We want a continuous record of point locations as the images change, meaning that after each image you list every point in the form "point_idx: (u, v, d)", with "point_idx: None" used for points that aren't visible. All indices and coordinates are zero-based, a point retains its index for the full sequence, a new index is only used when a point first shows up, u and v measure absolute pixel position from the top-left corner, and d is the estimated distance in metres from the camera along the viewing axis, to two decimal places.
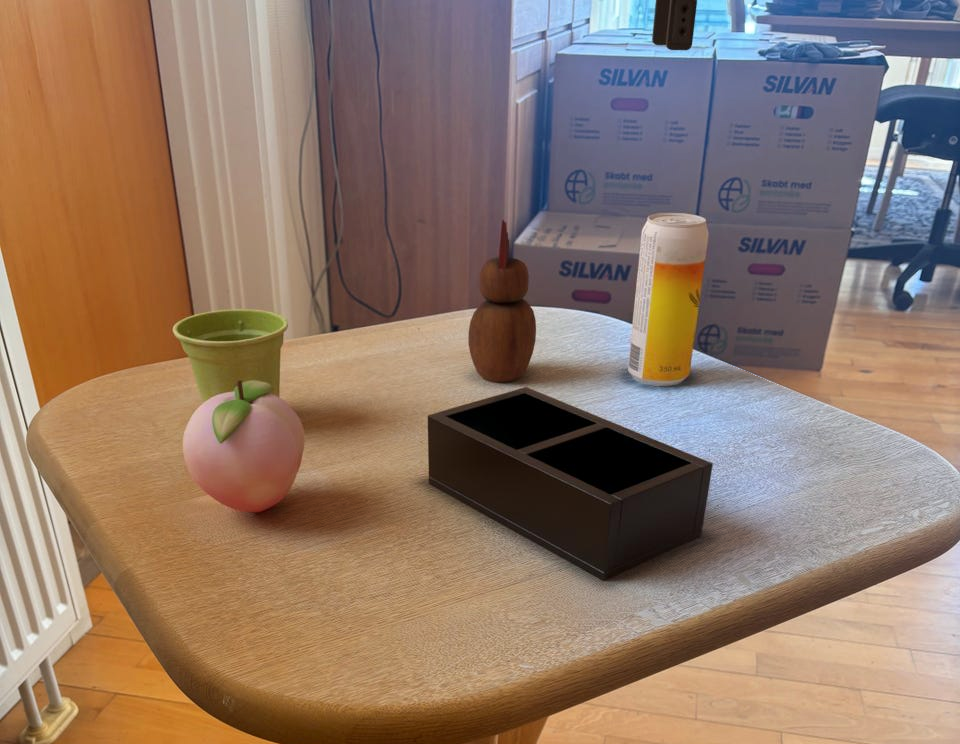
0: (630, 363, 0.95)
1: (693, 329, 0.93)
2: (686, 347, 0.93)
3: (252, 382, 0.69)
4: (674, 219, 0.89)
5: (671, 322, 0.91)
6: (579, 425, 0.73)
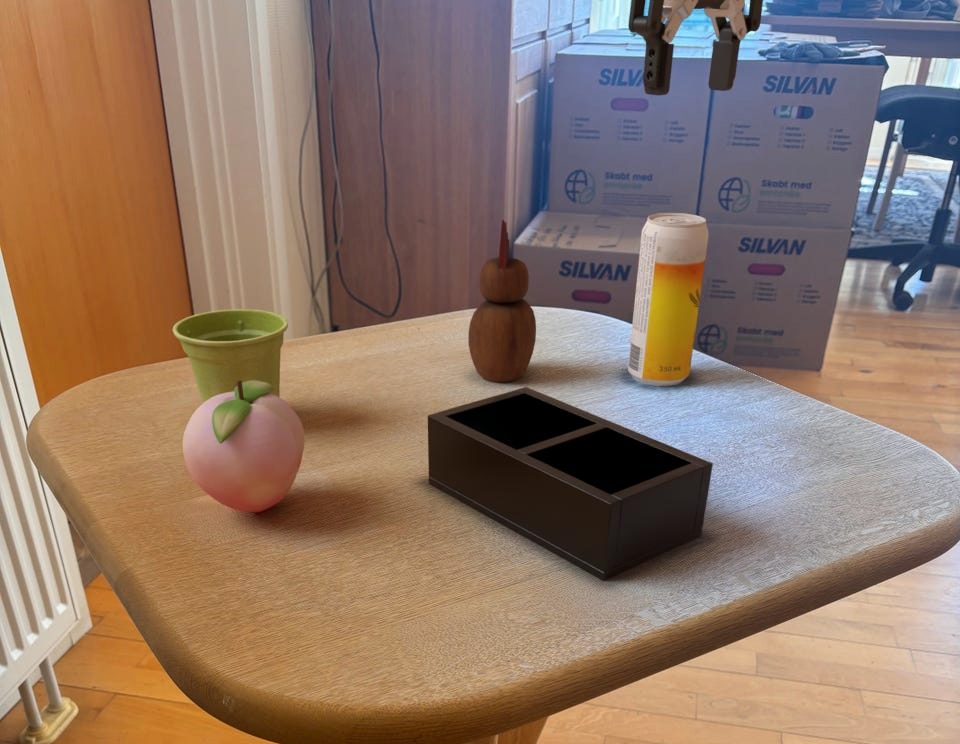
0: (630, 363, 0.95)
1: (693, 329, 0.93)
2: (686, 347, 0.93)
3: (252, 382, 0.69)
4: (674, 219, 0.89)
5: (671, 322, 0.91)
6: (579, 425, 0.73)
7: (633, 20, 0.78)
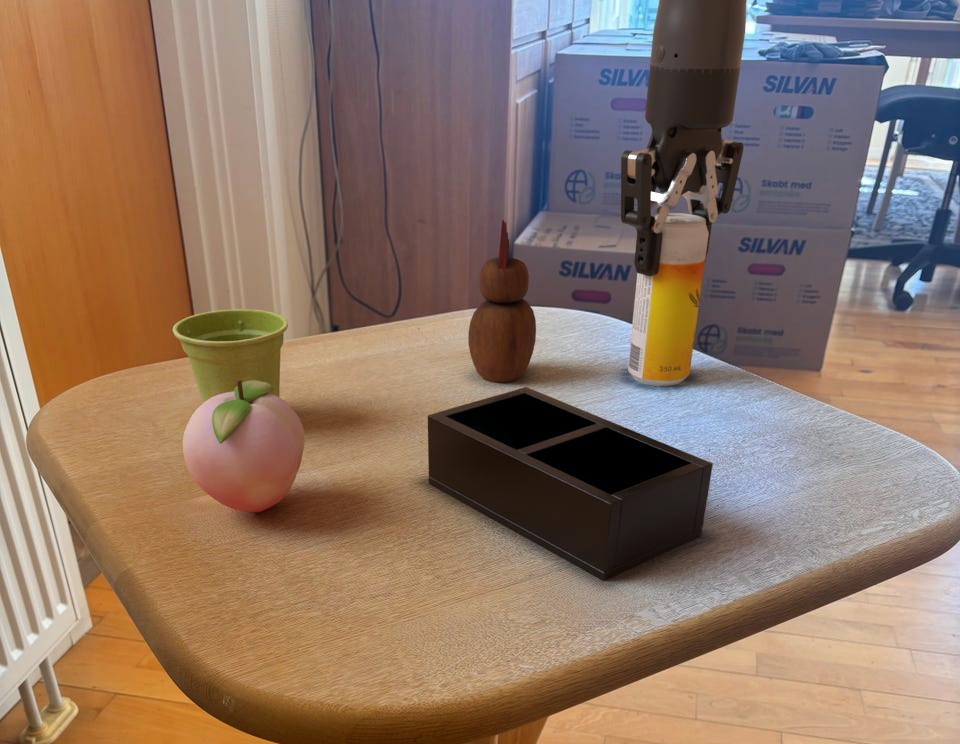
0: (630, 363, 0.95)
1: (693, 329, 0.93)
2: (686, 347, 0.93)
3: (252, 382, 0.69)
4: (674, 219, 0.89)
5: (670, 322, 0.91)
6: (579, 425, 0.73)
7: (625, 215, 0.85)
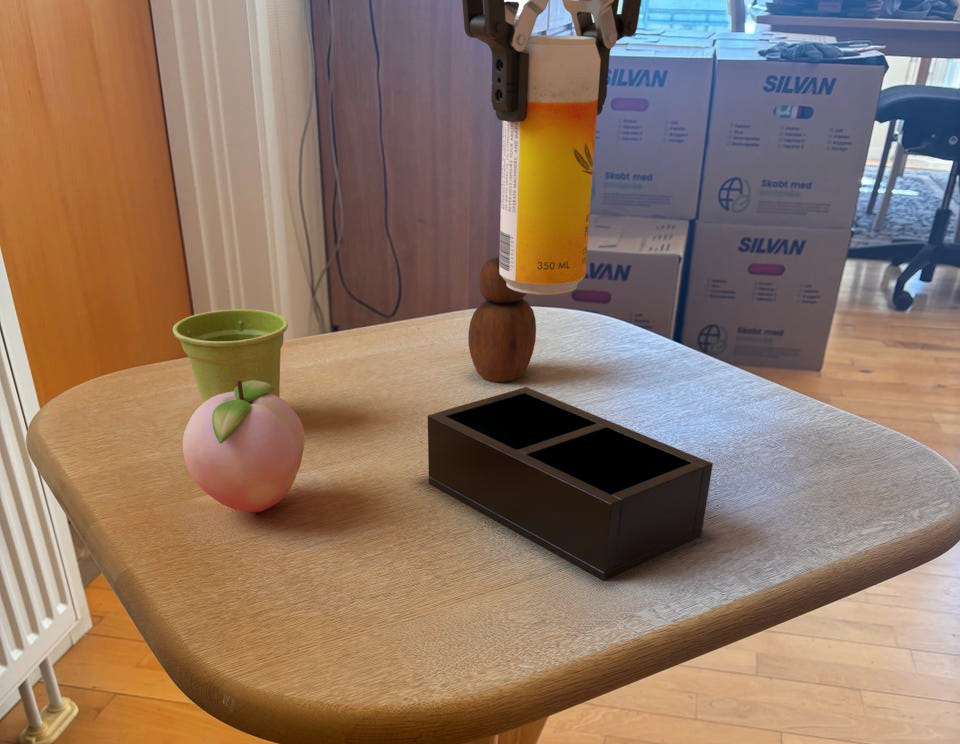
0: (500, 261, 0.67)
1: (585, 207, 0.64)
2: (574, 234, 0.65)
3: (252, 382, 0.69)
4: None
5: (549, 194, 0.63)
6: (579, 425, 0.73)
7: (469, 23, 0.57)
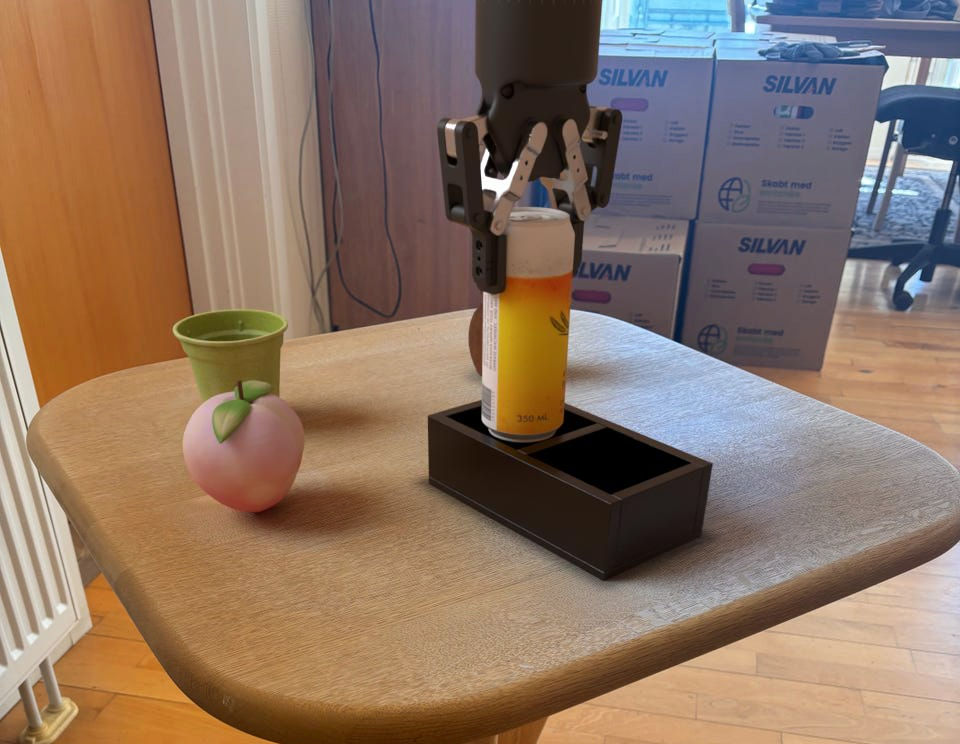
0: (482, 409, 0.71)
1: (561, 365, 0.68)
2: (552, 389, 0.68)
3: (252, 382, 0.69)
4: (526, 215, 0.64)
5: (527, 357, 0.66)
6: (579, 425, 0.73)
7: (450, 211, 0.61)
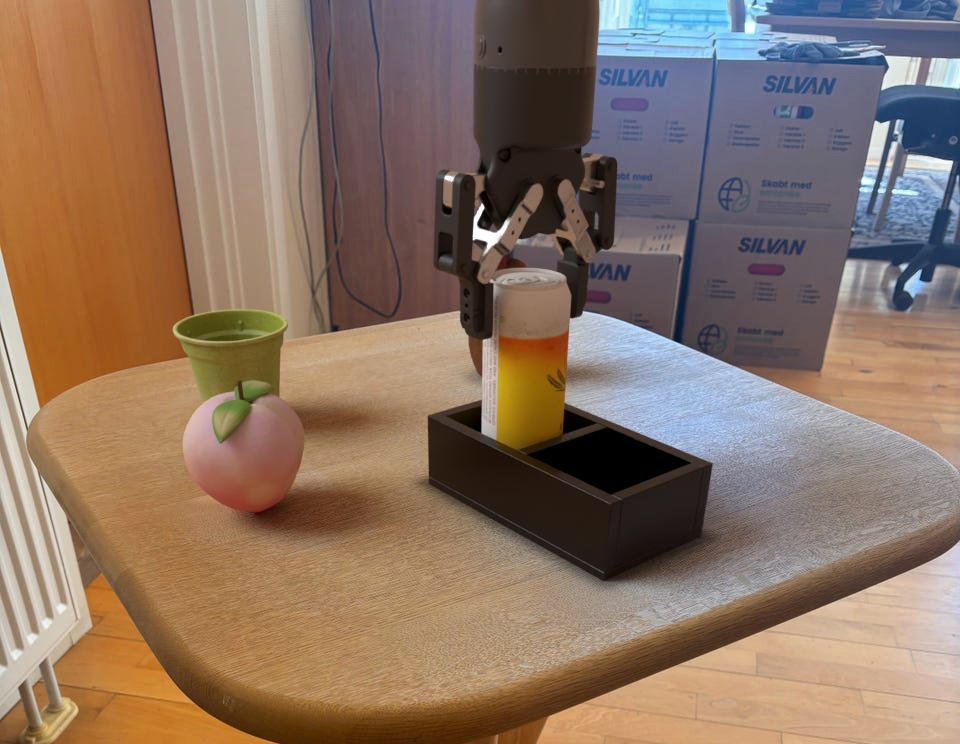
0: None
1: (558, 419, 0.70)
2: None
3: (252, 382, 0.69)
4: (524, 278, 0.66)
5: (525, 412, 0.69)
6: (579, 425, 0.73)
7: (438, 259, 0.62)
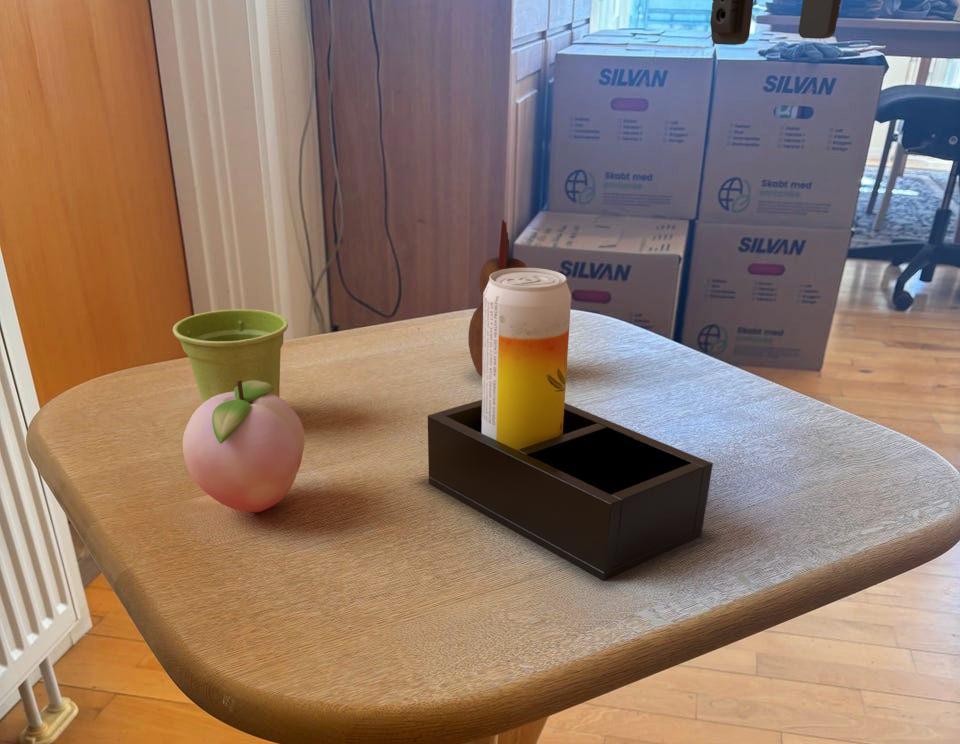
0: None
1: (558, 419, 0.70)
2: None
3: (252, 382, 0.69)
4: (524, 278, 0.66)
5: (525, 413, 0.69)
6: (579, 425, 0.73)
7: None
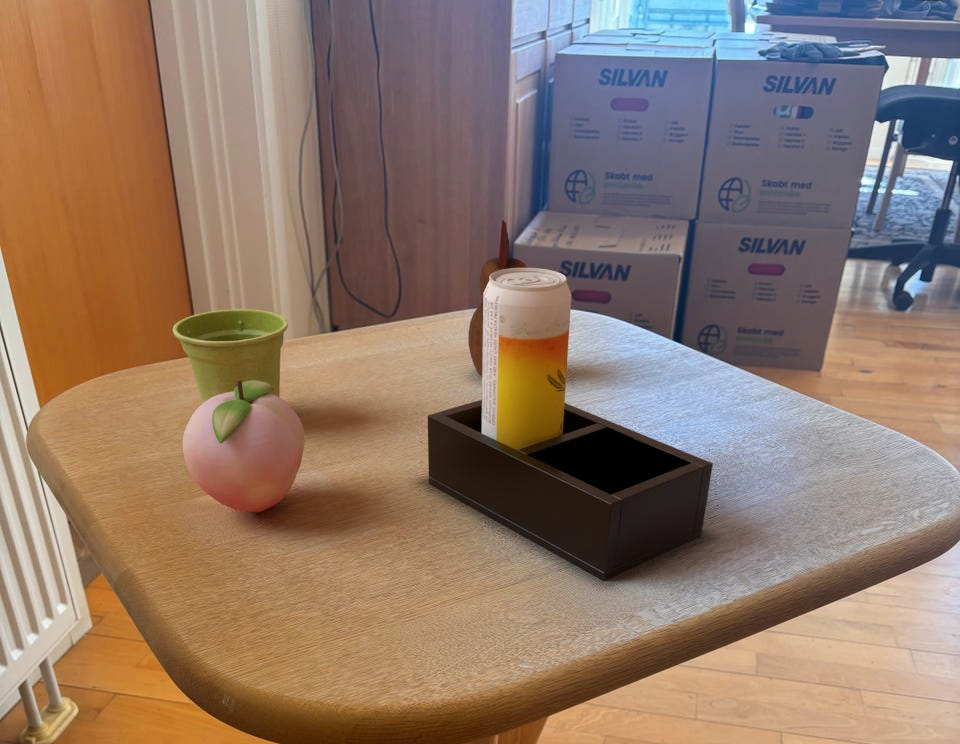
0: None
1: (558, 419, 0.70)
2: None
3: (252, 382, 0.69)
4: (524, 278, 0.66)
5: (525, 413, 0.69)
6: (579, 425, 0.73)
7: None
